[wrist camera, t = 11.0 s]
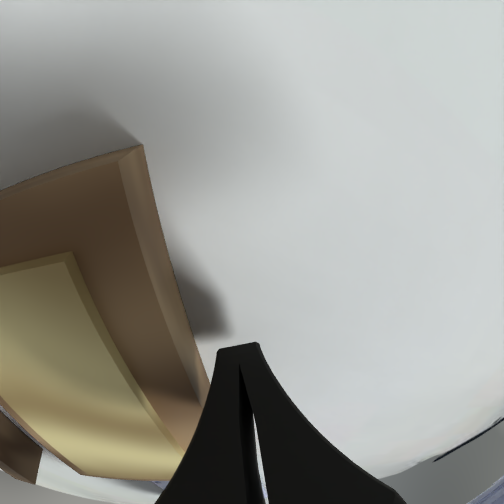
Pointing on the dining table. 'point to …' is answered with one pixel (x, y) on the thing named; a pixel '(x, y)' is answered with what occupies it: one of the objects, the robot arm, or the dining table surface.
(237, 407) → the robot arm
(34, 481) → the ledge
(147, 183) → the frame
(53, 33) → the dining table surface
